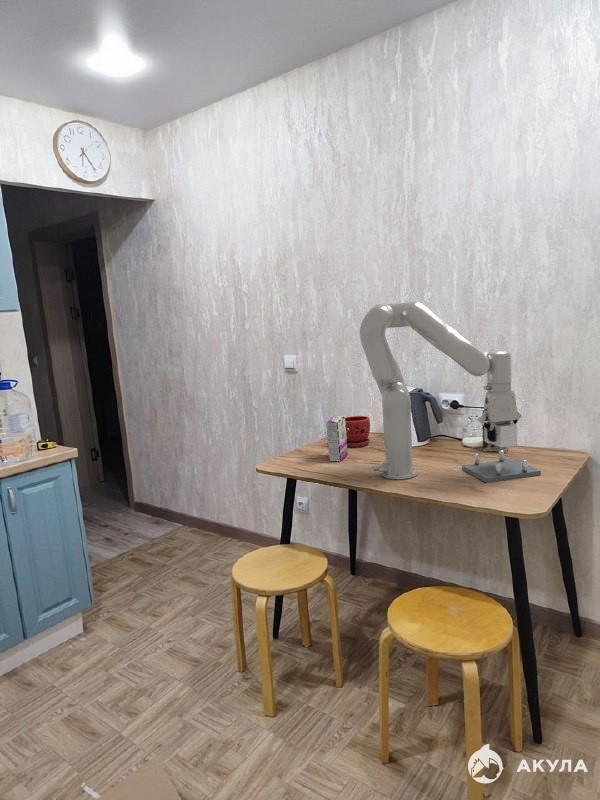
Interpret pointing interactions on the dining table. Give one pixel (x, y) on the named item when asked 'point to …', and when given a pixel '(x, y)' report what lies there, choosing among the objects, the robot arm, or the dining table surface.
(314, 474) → the dining table surface
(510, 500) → the dining table surface
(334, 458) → the candy bar box
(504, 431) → the block
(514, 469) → the pin board
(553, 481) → the dining table surface
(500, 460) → the guide pins
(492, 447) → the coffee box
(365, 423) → the plant pot
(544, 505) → the dining table surface
